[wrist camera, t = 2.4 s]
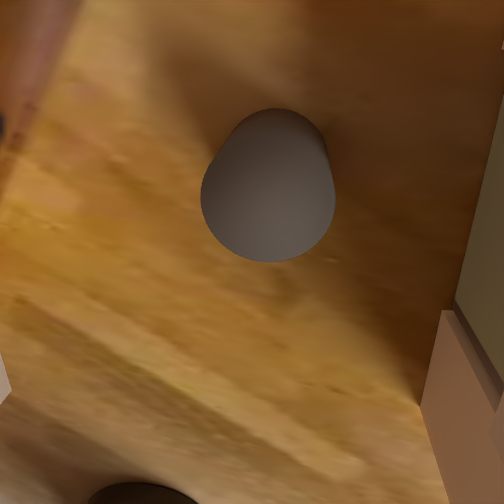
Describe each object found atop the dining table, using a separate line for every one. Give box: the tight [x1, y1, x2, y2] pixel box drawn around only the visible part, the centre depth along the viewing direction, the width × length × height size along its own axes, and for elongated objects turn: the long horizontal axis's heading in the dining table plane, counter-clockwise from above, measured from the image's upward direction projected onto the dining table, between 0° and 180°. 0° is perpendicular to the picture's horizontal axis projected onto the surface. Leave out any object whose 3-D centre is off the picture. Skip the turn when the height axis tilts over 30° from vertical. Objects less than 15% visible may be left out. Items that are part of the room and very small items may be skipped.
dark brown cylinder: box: [201, 109, 336, 262], centre depth 26 cm, size 7×7×8 cm
